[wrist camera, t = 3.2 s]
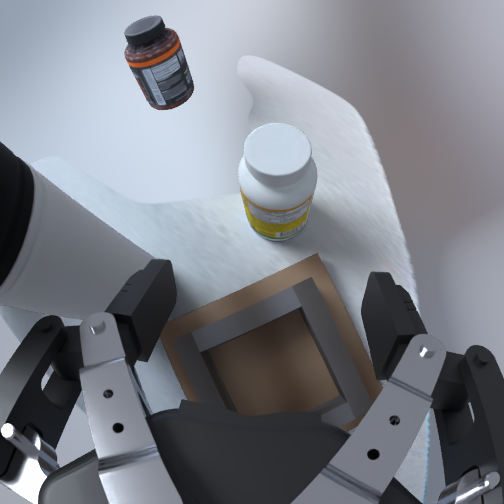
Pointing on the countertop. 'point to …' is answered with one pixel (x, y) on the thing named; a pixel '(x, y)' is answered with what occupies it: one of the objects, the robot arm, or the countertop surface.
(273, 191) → the supplement bottle
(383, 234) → the countertop surface
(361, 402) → the square tray with rim
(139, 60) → the supplement bottle
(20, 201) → the travel mug
